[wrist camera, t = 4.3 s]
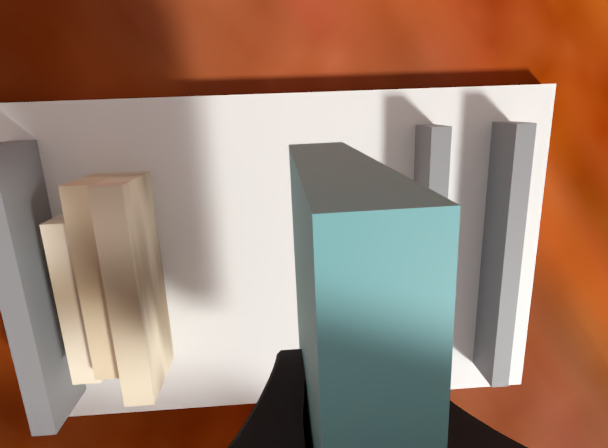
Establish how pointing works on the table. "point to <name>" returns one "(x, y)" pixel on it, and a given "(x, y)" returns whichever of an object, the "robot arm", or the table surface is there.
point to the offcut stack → (111, 283)
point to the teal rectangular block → (372, 299)
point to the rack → (266, 224)
